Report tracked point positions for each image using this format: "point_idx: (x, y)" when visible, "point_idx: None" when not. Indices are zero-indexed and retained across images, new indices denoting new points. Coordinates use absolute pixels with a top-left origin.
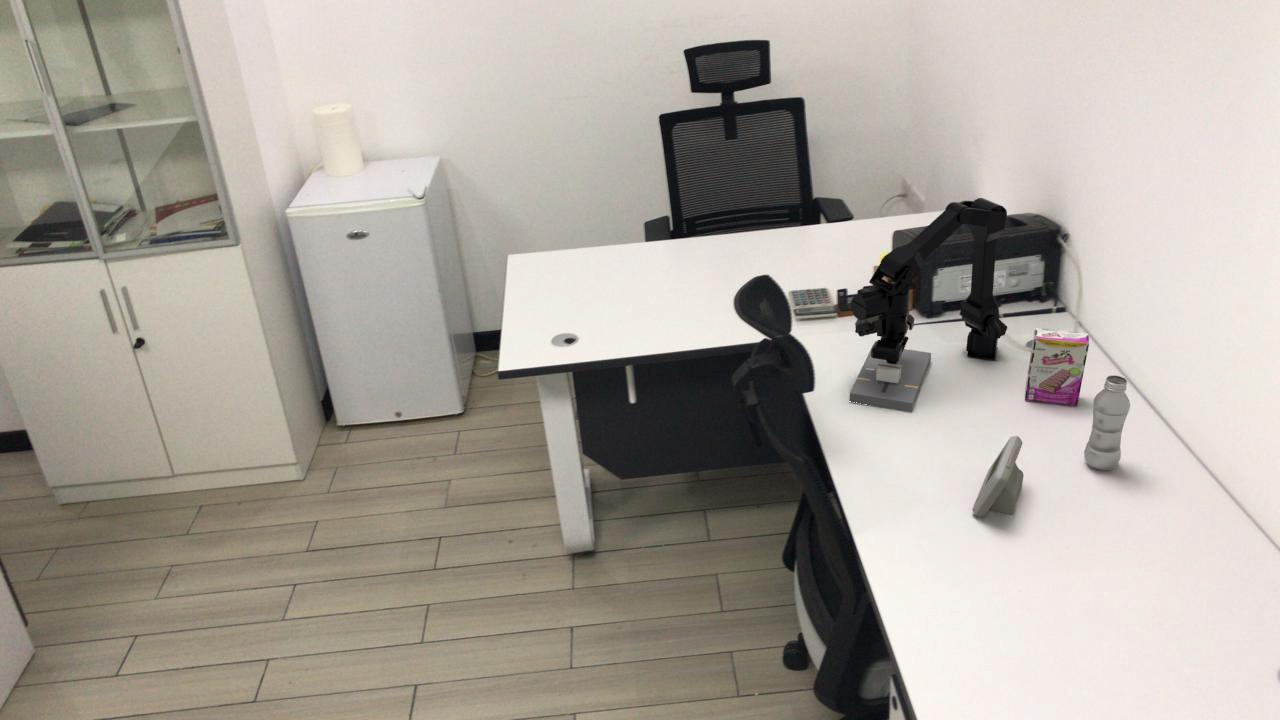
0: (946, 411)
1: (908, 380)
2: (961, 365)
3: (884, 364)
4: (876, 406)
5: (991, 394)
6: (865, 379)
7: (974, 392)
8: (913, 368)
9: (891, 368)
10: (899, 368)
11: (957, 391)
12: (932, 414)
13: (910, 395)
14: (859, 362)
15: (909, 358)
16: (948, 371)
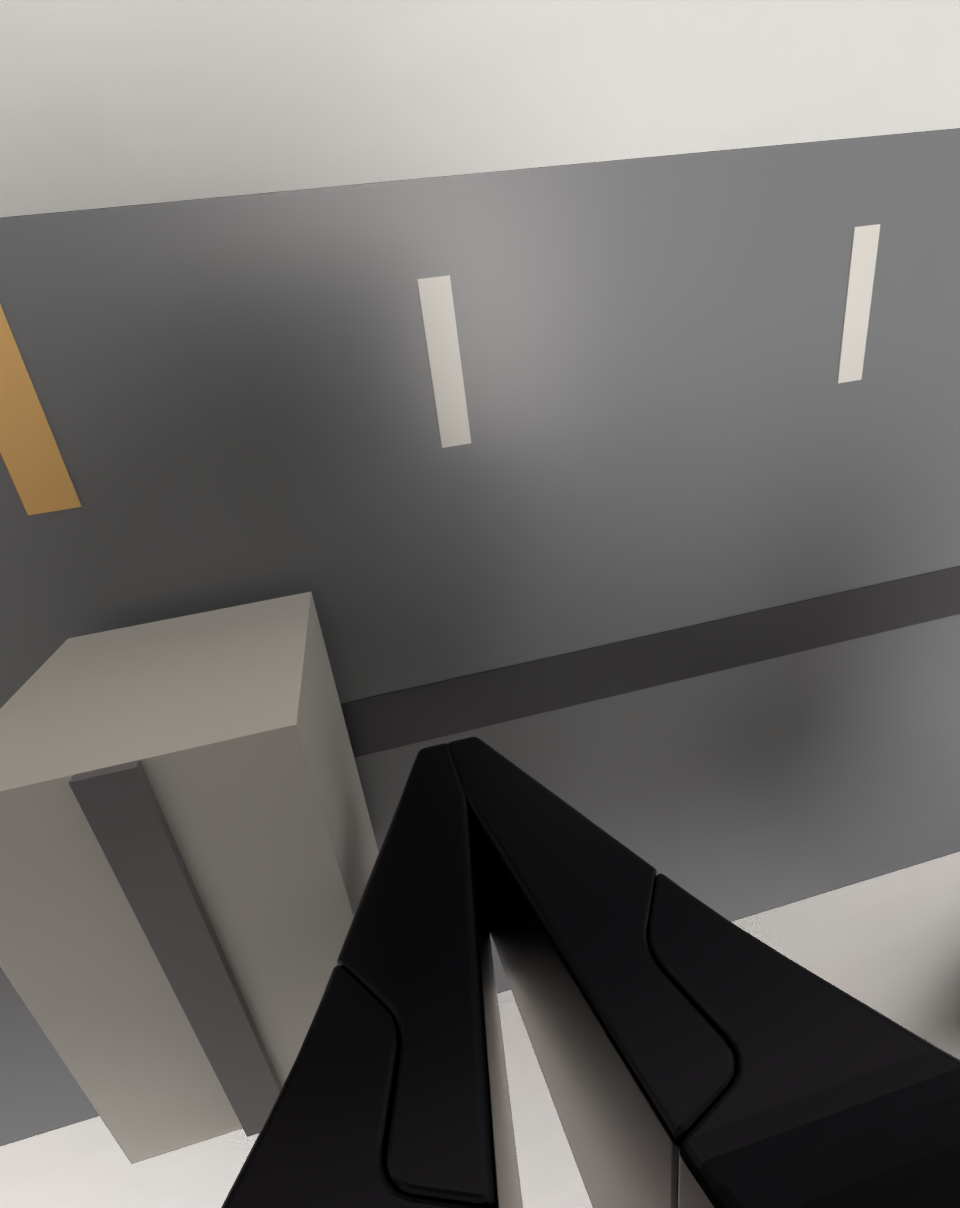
0: (204, 1166)
1: None
2: (894, 941)
3: (234, 865)
4: None
5: (580, 1192)
6: (15, 427)
7: (566, 1137)
8: (678, 847)
9: (156, 1034)
10: (243, 1128)
11: (536, 1078)
12: (79, 1138)
13: (44, 1096)
14: (804, 28)
15: (884, 724)
16: (798, 921)
